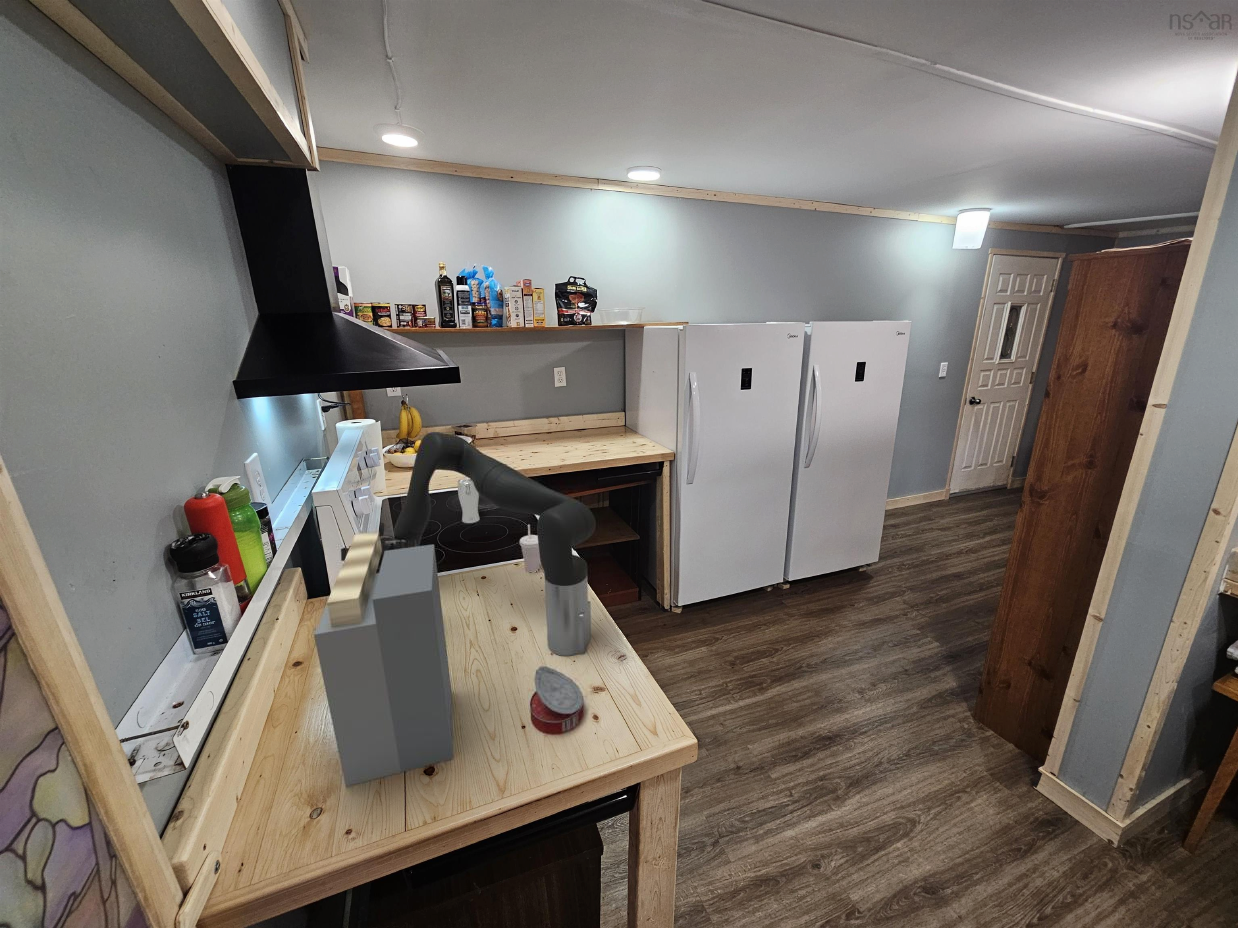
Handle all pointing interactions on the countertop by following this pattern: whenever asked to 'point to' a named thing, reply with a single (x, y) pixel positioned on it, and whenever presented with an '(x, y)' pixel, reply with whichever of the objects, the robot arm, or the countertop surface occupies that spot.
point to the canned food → (555, 702)
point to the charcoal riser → (390, 673)
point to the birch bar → (355, 580)
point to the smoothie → (530, 551)
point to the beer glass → (468, 500)
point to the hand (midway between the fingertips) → (374, 548)
